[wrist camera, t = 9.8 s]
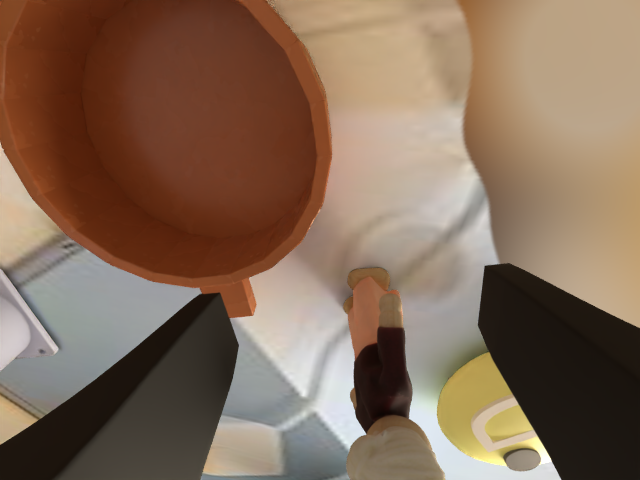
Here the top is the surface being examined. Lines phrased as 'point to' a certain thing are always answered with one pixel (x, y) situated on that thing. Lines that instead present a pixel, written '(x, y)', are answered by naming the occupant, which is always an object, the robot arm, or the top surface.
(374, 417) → the grandmother figurine
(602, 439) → the robot arm
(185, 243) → the pot
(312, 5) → the top surface
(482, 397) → the emoji
